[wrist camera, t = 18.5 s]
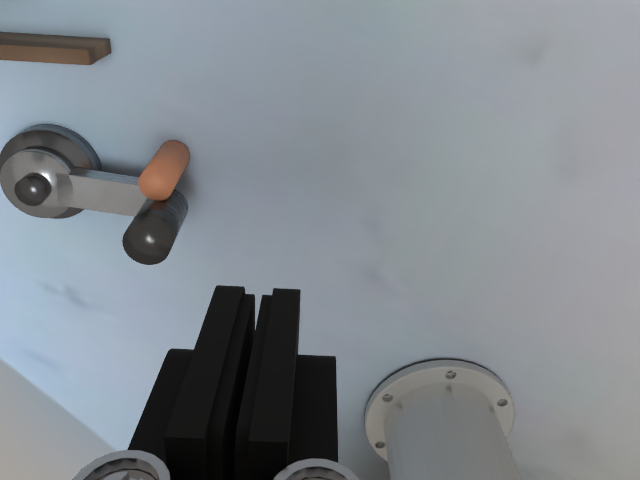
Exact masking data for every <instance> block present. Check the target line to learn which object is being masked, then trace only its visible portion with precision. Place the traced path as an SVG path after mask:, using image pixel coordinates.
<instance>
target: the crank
mask: <svg viewBox="0 0 640 480" xmlns="http://www.w3.org/2000/svg"><path fill="white" fill-rule="evenodd" d="M138 180H139V177H133V176H127V175H120V174H114V173H108V172H101V171H95V170H88V169H82V168H75V167H74V165H73V164H72V163H71V161H70V160H69V159H68V158H67V157H66V156H64V155H63V154H61V153H60V152H58V151H56V150H54V149H52V148H49V147H45V146H29V147H26V148H23V149H21V150H20V151H18V152H17V153H16V154H14V155H13V156H12V157H10V158H9V159H8V160H7V161H6V162H5V163H4V165H3V167H2V169H1V172H0V183H1V187H2V190H3V192H4V194H5V195H6V197H7V198H8V200H9V201H10V202H11V203H12V204H13V205H14V206H15V207H16V208H18V209H19V210H21V211H22V212H24V213H26V214H29V215H31V216H35V217H40V218H50V217H55V216H58V215H60V214H62V213H63V212H65V211H66V210H67V209H68V208H69V207H75V208H81V209H88V210H95V211H101V212H108V213H115V214H122V215H128V216H135V218H134V219H133V221H132V222H131V224H130V226H129V227H128V229H127V230H126V232H125V234H124V236H123V247H124V250H125V252H126V253H127V254H128V255H129V257H131V258H132V259H133V260H135V261H136V262H139V263H141V264H146V265H153V264H158V263H160V262H162V261H163V260H165V259H166V258H167V256H168V254H169V252H170V250H171V248H172V246H173V243H174V241H175V239H176V237H177V235H178V232H179V230H180V228H181V226H182V224H183V221H184V219H185V217H186V215H187V212H188V204H187V201H186V199H185V197H184V196H183V195H182V194H181V193H180V192H179V191H177V190H175V189H174V190H173V191H172V193H171V195H170V196H169V197H168V198H166V199H164V200H160V201H156V200H152V199H149V198H147V197H146V196H145V195H144V194H143V193H142V192H141V191H140V189H139V185H138Z"/></svg>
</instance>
